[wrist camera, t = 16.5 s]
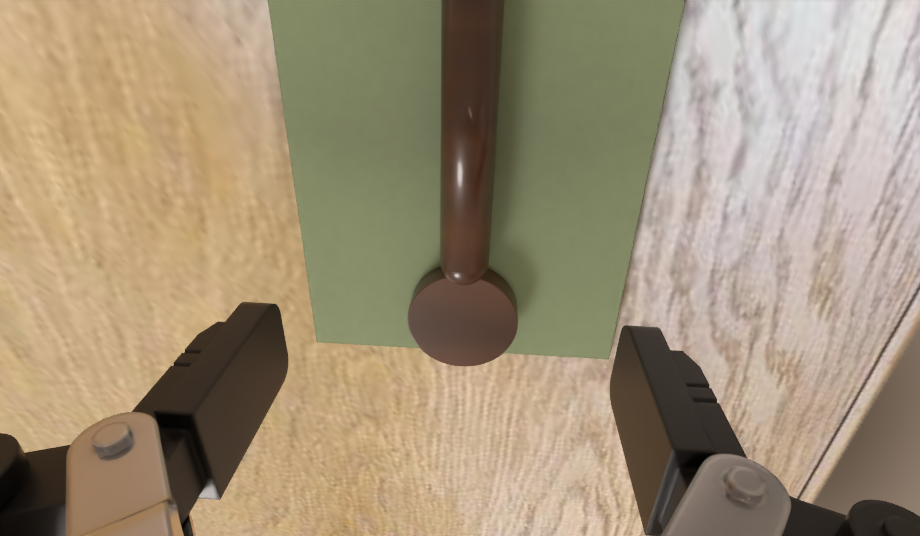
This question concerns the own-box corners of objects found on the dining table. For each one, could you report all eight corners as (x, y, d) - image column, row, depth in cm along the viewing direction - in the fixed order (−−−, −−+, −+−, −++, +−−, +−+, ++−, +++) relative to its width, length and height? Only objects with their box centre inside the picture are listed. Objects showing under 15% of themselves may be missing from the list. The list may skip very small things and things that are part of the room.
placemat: (255, -119, 16) (249, -121, 16) (704, -110, 16) (709, -112, 15) (319, 337, 25) (316, 342, 25) (607, 354, 24) (609, 359, 24)
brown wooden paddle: (400, -96, 16) (388, -106, 14) (555, -93, 16) (562, -102, 14) (412, 347, 25) (406, 375, 23) (512, 353, 24) (514, 381, 23)
